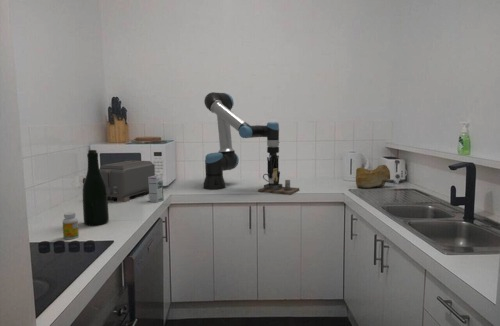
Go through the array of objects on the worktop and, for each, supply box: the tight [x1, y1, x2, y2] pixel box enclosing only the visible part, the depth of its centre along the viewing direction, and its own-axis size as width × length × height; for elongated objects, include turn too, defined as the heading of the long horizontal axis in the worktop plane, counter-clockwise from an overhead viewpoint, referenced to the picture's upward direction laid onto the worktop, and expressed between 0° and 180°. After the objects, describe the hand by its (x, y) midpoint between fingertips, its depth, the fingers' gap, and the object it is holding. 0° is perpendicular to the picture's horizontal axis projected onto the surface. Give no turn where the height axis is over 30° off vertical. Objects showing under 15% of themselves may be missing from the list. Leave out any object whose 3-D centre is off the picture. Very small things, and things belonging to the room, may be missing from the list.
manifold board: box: [257, 179, 300, 196], centre depth 236 cm, size 22×16×8 cm
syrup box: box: [148, 174, 165, 203], centre depth 209 cm, size 6×6×14 cm
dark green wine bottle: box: [82, 149, 110, 226], centre depth 164 cm, size 10×10×33 cm
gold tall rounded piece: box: [268, 168, 277, 184], centre depth 237 cm, size 5×5×10 cm
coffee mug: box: [262, 170, 281, 184], centre depth 255 cm, size 12×9×10 cm
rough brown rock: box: [355, 164, 391, 189], centre depth 249 cm, size 23×17×15 cm
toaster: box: [99, 160, 156, 203], centre depth 223 cm, size 19×35×20 cm, turn 160°
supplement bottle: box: [62, 211, 80, 240], centre depth 145 cm, size 5×5×10 cm
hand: (273, 182), depth 237 cm, fingers closed on gold tall rounded piece, 5 cm apart
